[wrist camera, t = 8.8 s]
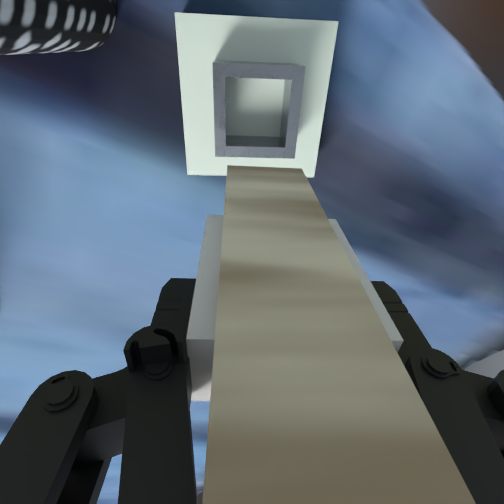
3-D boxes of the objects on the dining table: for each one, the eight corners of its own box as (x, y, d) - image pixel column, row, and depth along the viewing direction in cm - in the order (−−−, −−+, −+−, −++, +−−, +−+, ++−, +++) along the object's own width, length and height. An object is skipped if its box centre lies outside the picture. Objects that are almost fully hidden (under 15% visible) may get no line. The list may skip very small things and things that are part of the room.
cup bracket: (288, 146, 32) (294, 158, 29) (216, 145, 32) (215, 156, 29) (297, 63, 28) (305, 66, 25) (214, 59, 28) (212, 62, 24)
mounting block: (306, 165, 38) (313, 177, 34) (191, 163, 37) (187, 174, 33) (326, 23, 30) (338, 21, 27) (181, 16, 29) (174, 12, 26)
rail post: (291, 232, 19) (500, 946, 4) (226, 230, 19) (186, 988, 4) (301, 168, 17) (870, 1264, 2) (227, 165, 16) (134, 1434, 1)
